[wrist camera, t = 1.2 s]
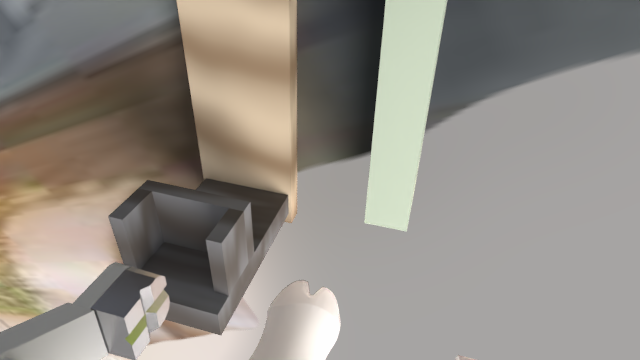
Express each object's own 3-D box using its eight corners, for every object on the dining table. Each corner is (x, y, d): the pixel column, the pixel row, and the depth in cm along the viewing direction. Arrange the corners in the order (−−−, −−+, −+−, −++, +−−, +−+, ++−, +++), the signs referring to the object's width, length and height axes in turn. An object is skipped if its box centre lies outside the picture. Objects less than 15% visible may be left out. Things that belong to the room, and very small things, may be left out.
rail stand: (157, -228, 24) (-118, -319, 13) (296, -231, 22) (117, -337, 11) (215, 195, 41) (118, 314, 30) (297, 212, 39) (226, 345, 28)
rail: (409, -117, 24) (396, -116, 20) (467, -116, 23) (465, -115, 19) (376, 184, 35) (364, 222, 31) (414, 190, 34) (406, 231, 30)
